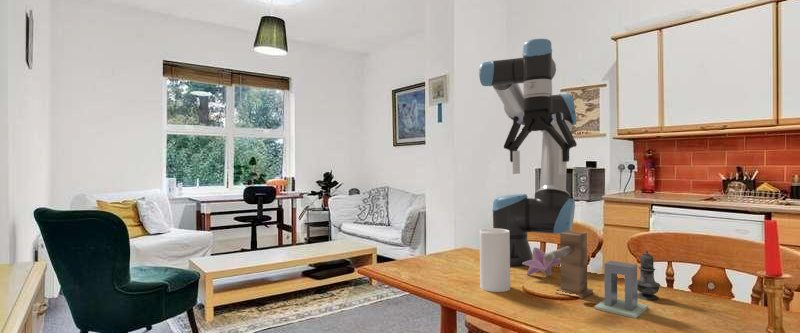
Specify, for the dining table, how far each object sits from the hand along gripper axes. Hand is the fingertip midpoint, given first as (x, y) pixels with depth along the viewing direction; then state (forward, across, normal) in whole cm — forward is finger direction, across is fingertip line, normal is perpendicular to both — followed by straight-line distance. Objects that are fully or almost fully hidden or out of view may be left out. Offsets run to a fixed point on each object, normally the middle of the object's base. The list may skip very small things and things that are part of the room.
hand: (538, 174), depth 118 cm
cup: (+32, -9, -8) cm, 34 cm away
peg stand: (+32, +9, -4) cm, 33 cm away
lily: (+32, -3, +9) cm, 33 cm away
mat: (+32, +22, -2) cm, 38 cm away
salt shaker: (+32, +24, +11) cm, 41 cm away
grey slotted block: (+31, +22, -2) cm, 38 cm away
